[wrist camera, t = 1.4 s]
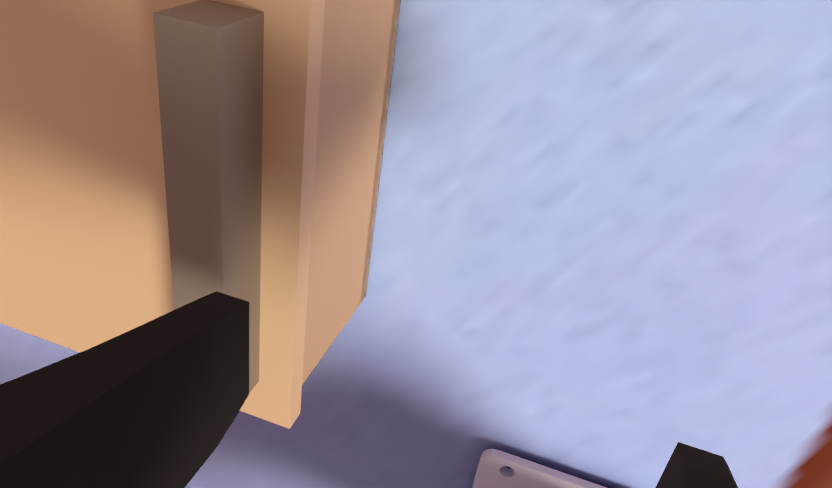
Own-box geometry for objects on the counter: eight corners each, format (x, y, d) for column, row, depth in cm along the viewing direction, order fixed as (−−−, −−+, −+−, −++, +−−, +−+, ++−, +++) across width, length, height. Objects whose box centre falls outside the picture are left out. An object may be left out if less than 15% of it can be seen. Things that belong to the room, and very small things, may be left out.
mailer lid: (329, -61, 11) (268, -49, 10) (300, 413, 18) (259, 472, 16) (-214, -168, 14) (-338, -174, 12) (-75, 278, 20) (-146, 316, 18)
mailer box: (408, -67, 16) (319, -47, 12) (365, 295, 22) (295, 394, 18) (7, -143, 19) (-183, -149, 14) (63, 200, 24) (-61, 267, 20)
